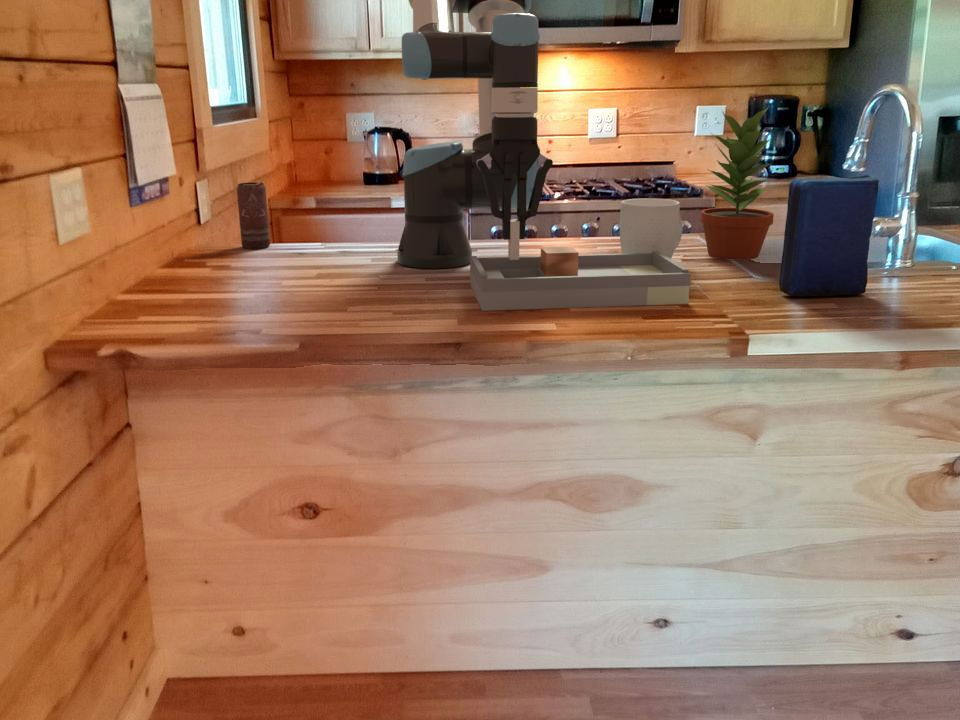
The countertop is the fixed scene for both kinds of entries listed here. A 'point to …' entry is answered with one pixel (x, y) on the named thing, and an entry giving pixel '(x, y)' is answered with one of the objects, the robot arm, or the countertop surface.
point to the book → (828, 236)
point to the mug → (650, 226)
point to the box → (570, 281)
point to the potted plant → (738, 197)
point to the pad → (660, 288)
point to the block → (559, 261)
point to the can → (253, 215)
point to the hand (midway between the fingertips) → (513, 258)
